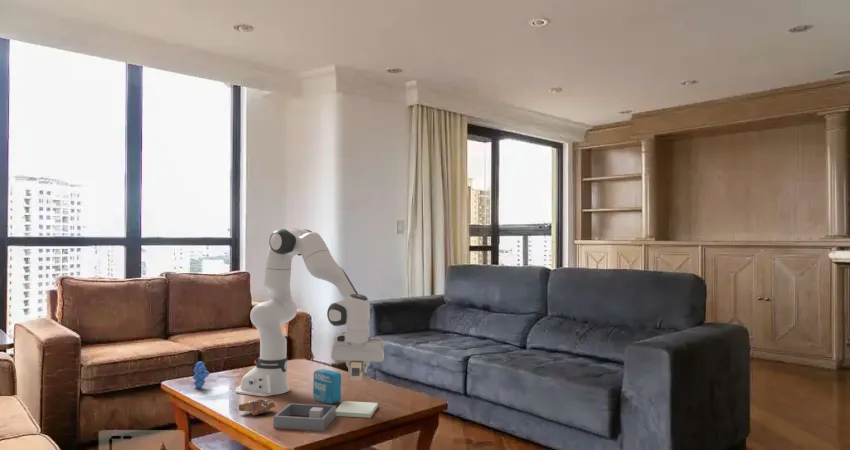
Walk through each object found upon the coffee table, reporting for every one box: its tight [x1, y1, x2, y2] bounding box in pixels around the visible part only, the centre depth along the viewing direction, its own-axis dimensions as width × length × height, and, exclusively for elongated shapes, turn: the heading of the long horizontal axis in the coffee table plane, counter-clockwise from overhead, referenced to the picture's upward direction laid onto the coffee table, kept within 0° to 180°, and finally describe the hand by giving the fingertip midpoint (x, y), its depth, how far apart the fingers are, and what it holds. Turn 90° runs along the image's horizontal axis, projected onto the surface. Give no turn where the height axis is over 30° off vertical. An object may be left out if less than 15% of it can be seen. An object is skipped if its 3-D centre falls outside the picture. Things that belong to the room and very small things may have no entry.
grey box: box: [308, 407, 323, 418], centre depth 211 cm, size 4×4×5 cm
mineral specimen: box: [238, 398, 275, 416], centre depth 220 cm, size 12×8×7 cm
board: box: [336, 400, 379, 419], centre depth 225 cm, size 14×14×2 cm
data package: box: [312, 368, 342, 405], centre depth 238 cm, size 12×4×12 cm, turn 51°
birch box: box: [349, 361, 365, 382], centre depth 225 cm, size 6×4×7 cm, turn 173°
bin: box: [272, 402, 337, 432], centre depth 211 cm, size 18×16×4 cm
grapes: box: [192, 360, 211, 389], centre depth 253 cm, size 12×7×12 cm, turn 37°
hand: (357, 372), depth 225 cm, fingers closed on birch box, 4 cm apart
